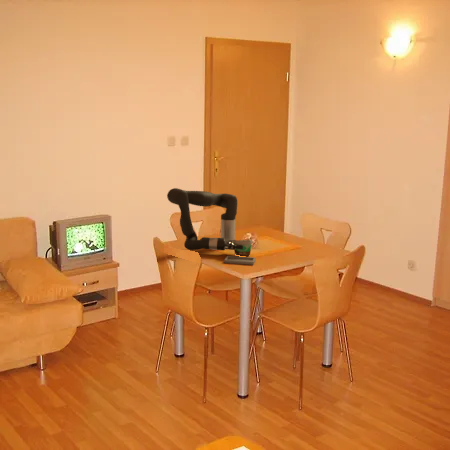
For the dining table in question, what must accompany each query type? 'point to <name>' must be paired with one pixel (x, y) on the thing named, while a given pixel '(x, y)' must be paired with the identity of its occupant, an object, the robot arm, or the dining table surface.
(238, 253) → the food container
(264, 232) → the dining table surface
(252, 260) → the tray
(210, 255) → the dining table surface
